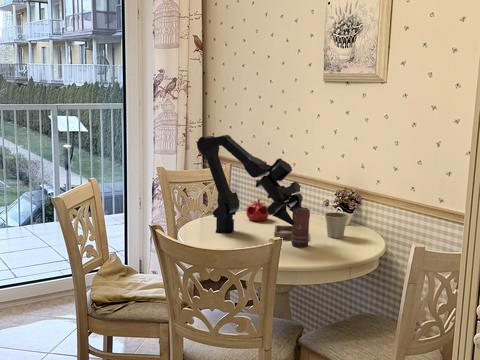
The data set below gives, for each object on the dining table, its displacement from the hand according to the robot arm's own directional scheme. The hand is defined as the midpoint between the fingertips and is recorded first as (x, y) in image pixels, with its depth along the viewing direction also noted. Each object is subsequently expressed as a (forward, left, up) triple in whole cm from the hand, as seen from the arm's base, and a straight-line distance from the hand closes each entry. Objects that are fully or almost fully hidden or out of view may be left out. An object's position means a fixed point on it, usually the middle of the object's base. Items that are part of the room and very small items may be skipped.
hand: (299, 221), depth 208 cm
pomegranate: (-17, +37, -9) cm, 42 cm away
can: (+1, 0, -9) cm, 9 cm away
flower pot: (+15, +15, -9) cm, 23 cm away
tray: (-3, +13, -9) cm, 16 cm away
